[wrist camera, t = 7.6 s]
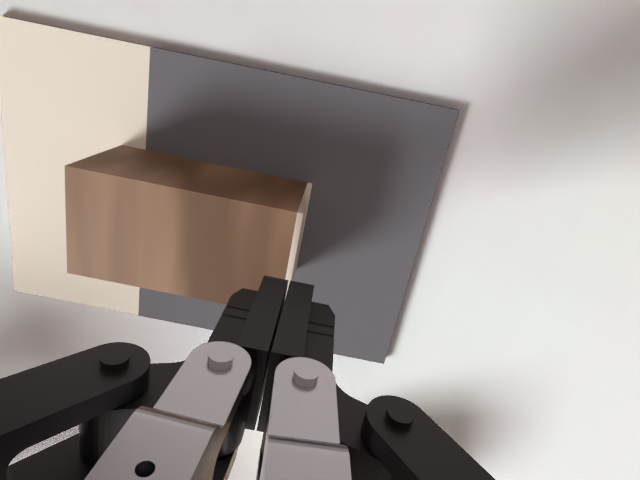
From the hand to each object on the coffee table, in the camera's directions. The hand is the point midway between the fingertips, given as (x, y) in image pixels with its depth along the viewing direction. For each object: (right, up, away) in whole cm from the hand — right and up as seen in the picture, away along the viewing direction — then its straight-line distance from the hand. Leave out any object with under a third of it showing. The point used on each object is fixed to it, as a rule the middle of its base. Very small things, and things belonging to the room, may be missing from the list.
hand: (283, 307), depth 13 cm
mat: (-3, +3, +6) cm, 8 cm away
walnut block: (0, +2, +4) cm, 5 cm away
